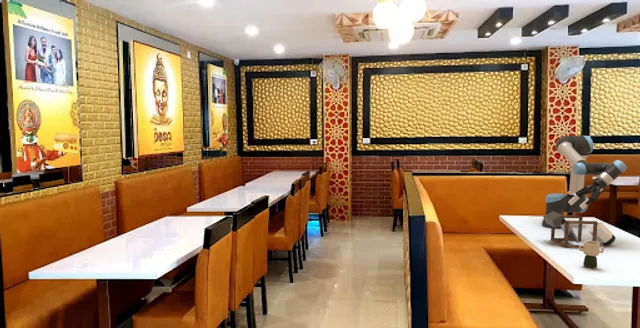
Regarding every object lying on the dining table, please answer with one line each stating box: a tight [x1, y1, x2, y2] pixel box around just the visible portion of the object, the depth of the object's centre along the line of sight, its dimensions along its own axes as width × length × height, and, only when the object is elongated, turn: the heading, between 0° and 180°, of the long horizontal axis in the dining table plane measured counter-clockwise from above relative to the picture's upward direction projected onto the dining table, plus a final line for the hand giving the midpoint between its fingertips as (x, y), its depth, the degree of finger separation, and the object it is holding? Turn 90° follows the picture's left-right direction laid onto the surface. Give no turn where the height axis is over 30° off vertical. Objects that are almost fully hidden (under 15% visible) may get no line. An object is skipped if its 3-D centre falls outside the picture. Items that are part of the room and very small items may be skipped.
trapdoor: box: [542, 211, 580, 244], centre depth 284 cm, size 14×19×8 cm
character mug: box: [578, 240, 605, 269], centre depth 239 cm, size 11×7×13 cm, turn 68°
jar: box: [588, 222, 617, 247], centre depth 282 cm, size 9×8×12 cm
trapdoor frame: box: [550, 214, 599, 249], centre depth 284 cm, size 18×18×16 cm
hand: (575, 205), depth 282 cm, fingers open, 13 cm apart
